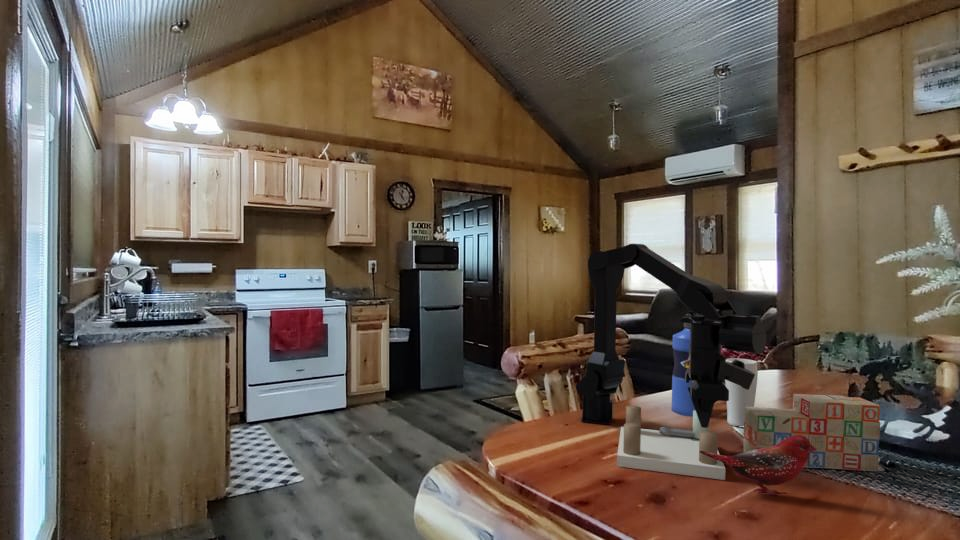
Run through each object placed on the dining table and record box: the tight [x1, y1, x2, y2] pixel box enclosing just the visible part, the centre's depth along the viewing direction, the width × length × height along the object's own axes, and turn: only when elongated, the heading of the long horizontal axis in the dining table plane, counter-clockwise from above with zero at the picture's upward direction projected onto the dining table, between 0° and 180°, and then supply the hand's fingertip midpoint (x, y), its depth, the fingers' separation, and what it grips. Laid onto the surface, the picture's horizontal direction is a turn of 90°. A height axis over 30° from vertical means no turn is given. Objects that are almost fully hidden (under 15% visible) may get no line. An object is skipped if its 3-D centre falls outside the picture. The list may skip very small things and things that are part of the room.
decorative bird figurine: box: [699, 435, 817, 496], centre depth 86 cm, size 3×18×10 cm, turn 80°
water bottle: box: [671, 323, 695, 418], centre depth 133 cm, size 9×9×25 cm
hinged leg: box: [658, 410, 710, 439], centre depth 107 cm, size 9×3×5 cm, turn 72°
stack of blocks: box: [743, 393, 881, 472], centre depth 100 cm, size 21×6×12 cm, turn 83°
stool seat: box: [616, 405, 726, 481], centre depth 102 cm, size 18×18×7 cm
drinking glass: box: [724, 357, 759, 427], centre depth 123 cm, size 7×7×15 cm
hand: (704, 427), depth 103 cm, fingers closed
